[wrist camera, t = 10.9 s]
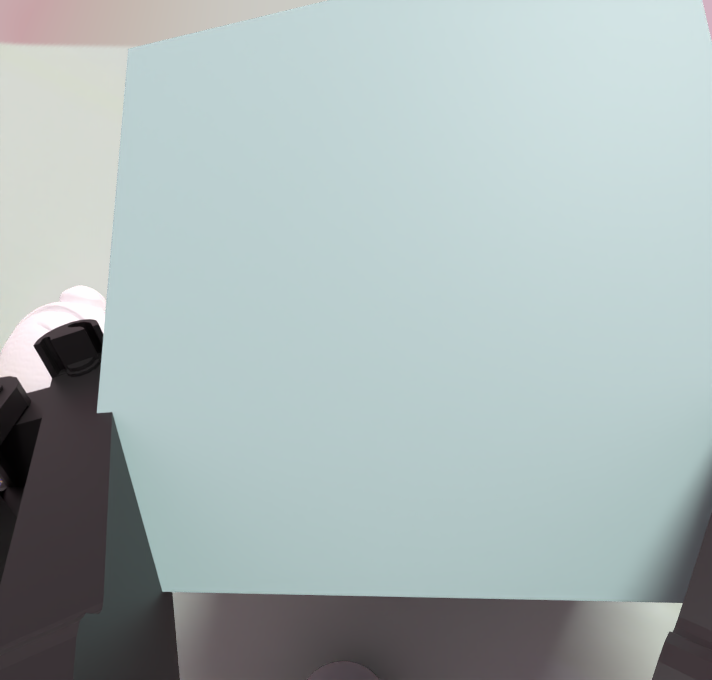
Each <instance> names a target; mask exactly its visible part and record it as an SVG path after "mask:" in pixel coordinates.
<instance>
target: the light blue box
mask: <svg viewBox="0 0 712 680" xmlns="http://www.w3.org/2000/svg"><path fill="white" fill-rule="evenodd" d="M106 412H112V413H113V417H114V420H115V424H116V427H117V431H118V435H119V438H120V442H121V445H122V449H123V452H124V456H125V460H126V463H127V467H128V470H129V474H130V477H131V481H132V485H133V488H134V492H135V495H136V499H137V502H138V506H139V510H140V513H141V517H142V520H143V524H144V528H145V531H146V535H147V538H148V542H149V545H150V549H151V553H152V556H153V560H154V563H155V567H156V570H157V574H158V578H159V581H160V585H161V588H162V592H198V593H245V594H292V595H339V596H386V597H433V598H480V599H527V600H574V601H621V602H668V603H683V601H684V598H685V595H686V592H687V589H688V586H689V583H690V579H691V576H692V573H693V570H694V567H695V564H696V560H697V557H698V554H699V551H700V548H701V545H702V541H703V538H704V535H705V532H706V529H707V526H708V522H709V519H710V516H711V513H712V41H711V37H710V33H709V28H708V24H707V19H706V15H705V10H704V6H703V2H702V0H327V1H324V2H319V3H315V4H311V5H307V6H303V7H299V8H295V9H290V10H286V11H282V12H278V13H274V14H270V15H266V16H261V17H258V18H254V19H249V20H245V21H241V22H237V23H233V24H228V25H224V26H220V27H216V28H212V29H208V30H204V31H200V32H196V33H192V34H187V35H183V36H179V37H175V38H171V39H167V40H162V41H159V42H154V43H150V44H146V45H142V46H138V47H134V48H129V49H128V59H127V71H126V82H125V94H124V105H123V117H122V128H121V140H120V151H119V163H118V174H117V186H116V197H115V209H114V220H113V232H112V243H111V255H110V266H109V278H108V289H107V301H106V312H105V324H104V335H103V347H102V358H101V370H100V381H99V393H98V404H97V413H106Z"/></svg>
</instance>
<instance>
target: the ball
mask: <svg viewBox="0 0 712 680" xmlns="http://www.w3.org/2000/svg"><path fill="white" fill-rule="evenodd" d="M307 680H380V679H379V678H378V677H377V676H376V675H375V674H374V673H373V672H372V671H370V670H369V669H368V668H366V667H364V666H362V665H360V664H358V663H354V662H349V661H337V662H332V663H330V664H327V665H324V666H322V667H321V668H319V669H318V670H316V671H315V672H314V673H313V674H311V675H310V676H309V677H308V679H307Z"/></svg>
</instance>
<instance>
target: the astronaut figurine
mask: <svg viewBox="0 0 712 680" xmlns="http://www.w3.org/2000/svg"><path fill="white" fill-rule="evenodd" d="M105 308H106V301H105V299H104V297H103V296H102V295H101V294H100V293H99V292H97V291H96V290H94V289H92V288H90V287H87V286H74V287H72V288H69V289H67V290H65V291H64V292H63V293H62V294H61V295H60V302H55V303H49V304H47V305H44V306H41V307H39V308H37V309H35V310H34V311H32V312H31V313H29V314H28V315H27V316H26V317H24V318H23V319H22V320H21V322H20V323H19V324H18V325H17V327H16V328H15V329H14V331H13V332H12V334H11V335H10V337H9V339H8V340H7V341H6V343H5V345H4V347H3V349H2V351H1V353H0V377H7V376H12V377H17V379H18V380H19V382H20V383H21V385H22V387H23V388H24V390H25V392H26V393H29V392H33V391H37V390H40V389H44V388H48V387H50V384H51V380H52V377H51V375H50V374H49V372H48V370H47V369H46V367H45V365H44V363H43V362H42V360H41V358H40V356H39V355H38V353H37V351H36V349H35V348H34V346H33V345H34V344H35V342H36V341H37V340H38V339H39V338H40V337H42V336H43V335H44V334H46V333H47V332H49V331H51V330H53V329H55V328H57V327H59V326H62V325H64V324H67V323H70V322H74V321H78V320H84V319H93V320H97V322H98V324H99V326H100V328H101V330H102V332H103V334H104V324H105V312H104V310H105Z"/></svg>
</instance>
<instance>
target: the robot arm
mask: <svg viewBox="0 0 712 680" xmlns="http://www.w3.org/2000/svg"><path fill="white" fill-rule="evenodd" d="M103 335H104V334H103V332H102V330H101V328H100V326H99V324H98V322H97V320H93V319H84V320H78V321H74V322H70V323H67V324H64V325H62V326H59V327H57V328H55V329H53V330H51V331H49V332H47V333H46V334H44V335H43V336H42V337H40V338H39V339H38V340H37V341H36V342H35V344H34V345H33V346H34V348H35V349H36V351H37V353H38V355H39V356H40V358H41V360H42V362H43V363H44V365H45V367H46V369H47V370H48V372H49V374H50V375H51V377H52V380H51V384H50V387H48V388H44V389H40V390H37V391H33V392H29V393H26V392H25V390H24V388H23V387H22V385H21V383H20V382H19V380H18V379H17V377H12V376H7V377H0V478H1V480H2V481H3V482H2V483H1V485H0V680H180V678H179V666H178V655H177V643H176V631H175V620H174V608H173V596H172V592H162V588H161V585H160V581H159V578H158V574H157V570H156V567H155V563H154V560H153V556H152V553H151V549H150V545H149V542H148V538H147V535H146V531H145V528H144V524H143V520H142V517H141V513H140V510H139V506H138V502H137V499H136V495H135V492H134V488H133V485H132V481H131V477H130V474H129V470H128V467H127V463H126V460H125V456H124V452H123V449H122V445H121V442H120V438H119V435H118V431H117V427H116V424H115V420H114V417H113V413H112V412H106V413H97V404H98V393H99V381H100V370H101V358H102V347H103ZM652 680H712V513H711V516H710V519H709V522H708V526H707V529H706V532H705V535H704V538H703V541H702V545H701V548H700V551H699V554H698V557H697V560H696V564H695V567H694V570H693V573H692V576H691V579H690V583H689V586H688V589H687V592H686V595H685V598H684V601H683V605H682V608H681V611H680V614H679V617H678V620H677V623H676V626H675V628H674V630H673V632H669V634H668V636H667V638H666V640H665V643H664V645H663V648H662V651H661V654H660V657H659V660H658V663H657V666H656V669H655V672H654V675H653V678H652Z"/></svg>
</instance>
